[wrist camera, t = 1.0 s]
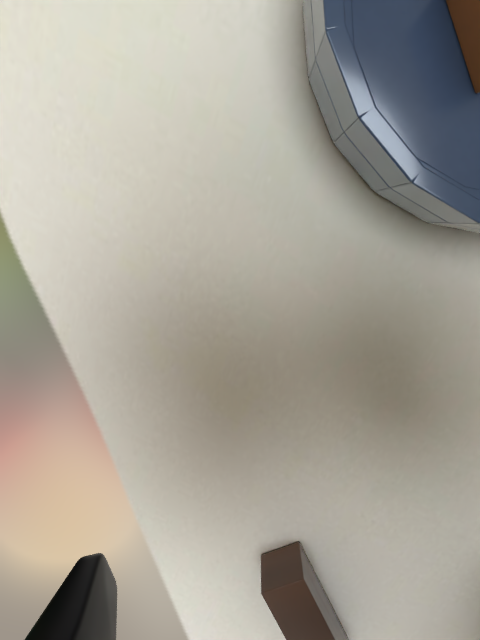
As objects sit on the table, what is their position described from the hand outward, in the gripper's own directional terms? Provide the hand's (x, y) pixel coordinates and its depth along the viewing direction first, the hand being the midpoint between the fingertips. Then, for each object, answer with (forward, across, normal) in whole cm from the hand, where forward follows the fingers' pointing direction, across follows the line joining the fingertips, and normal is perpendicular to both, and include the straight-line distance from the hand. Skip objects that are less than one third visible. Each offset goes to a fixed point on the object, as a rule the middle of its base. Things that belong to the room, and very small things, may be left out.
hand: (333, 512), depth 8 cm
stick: (+9, 0, +16) cm, 19 cm away
